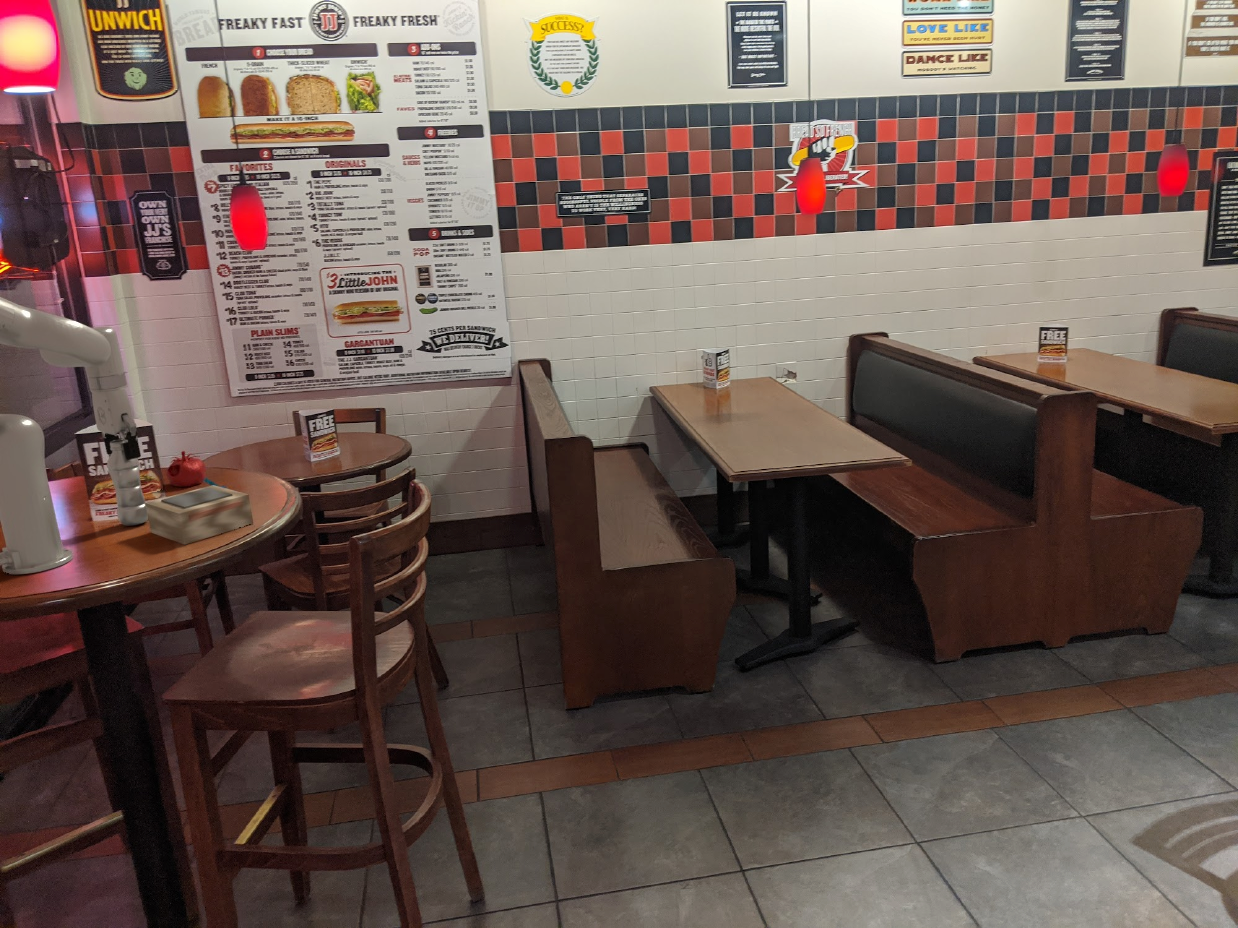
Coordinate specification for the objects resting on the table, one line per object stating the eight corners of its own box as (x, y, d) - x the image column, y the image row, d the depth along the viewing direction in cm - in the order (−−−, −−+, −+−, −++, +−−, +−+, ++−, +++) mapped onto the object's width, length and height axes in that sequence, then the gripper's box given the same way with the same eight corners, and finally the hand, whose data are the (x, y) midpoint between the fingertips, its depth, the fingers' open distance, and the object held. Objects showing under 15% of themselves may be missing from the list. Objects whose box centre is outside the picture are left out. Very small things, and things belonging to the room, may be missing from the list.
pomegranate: (204, 477, 255) (199, 445, 253) (210, 484, 247) (205, 450, 245) (165, 483, 250) (160, 450, 248) (170, 491, 242) (165, 456, 240)
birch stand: (185, 544, 198) (179, 512, 196) (150, 532, 208) (144, 501, 206) (254, 524, 209) (249, 492, 208) (218, 513, 220) (213, 483, 218)
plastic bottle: (142, 527, 212) (125, 443, 206) (113, 529, 212) (96, 445, 207) (156, 519, 218) (140, 437, 213) (128, 520, 218) (112, 438, 213)
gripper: (74, 383, 209) (91, 455, 214) (107, 388, 198) (123, 464, 203) (108, 377, 215) (124, 447, 219) (142, 382, 204) (157, 456, 209)
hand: (124, 455), depth 211 cm, fingers open, 9 cm apart
